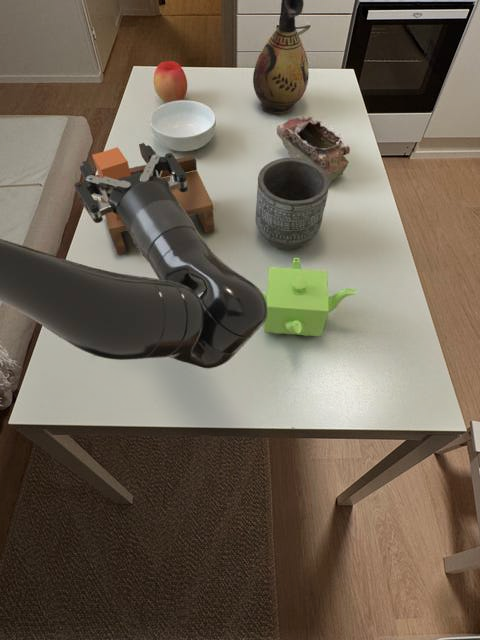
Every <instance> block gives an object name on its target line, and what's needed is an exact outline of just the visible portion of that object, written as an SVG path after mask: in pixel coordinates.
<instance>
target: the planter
mask: <svg viewBox="0 0 480 640" xmlns="http://www.w3.org/2000/svg"><path fill="white" fill-rule="evenodd" d="M330 183H331V182H330V180H329V177H328V174H327V173H326V171H325V170H324V169H323V168H322V167H320V166H319V165H317V164H315V163H313V162H311V161H308V160H305V159H300V158H290V157H283V158H282V157H281V158H278V159H275V160H273V161H270V162H268V163H266V164H265V165H264V166H263V167H262V168H261V169H260V170H259V173H258V176H257V188H256V189H257V190H256V207H255V225H256V228H257V230H258V231H259V233H260V235H261V236H262V237H263V238H264V239H265V241H267V243H268V244H269V245H270V246H273V247H274V248H276V249H278V250H283V251H292V250H297V249H299V248H301V247H303V246H305V245H306V244H307V243H309V242H310V241H311V240H313V239H314V238H315V237H316V236H317V234H318V233H319V232H320V229H321V225H322V220H323V217H324V212H325V208H326V204H327V200H328V199H327V198H328V194H329V191H330V185H331V184H330Z"/></svg>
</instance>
